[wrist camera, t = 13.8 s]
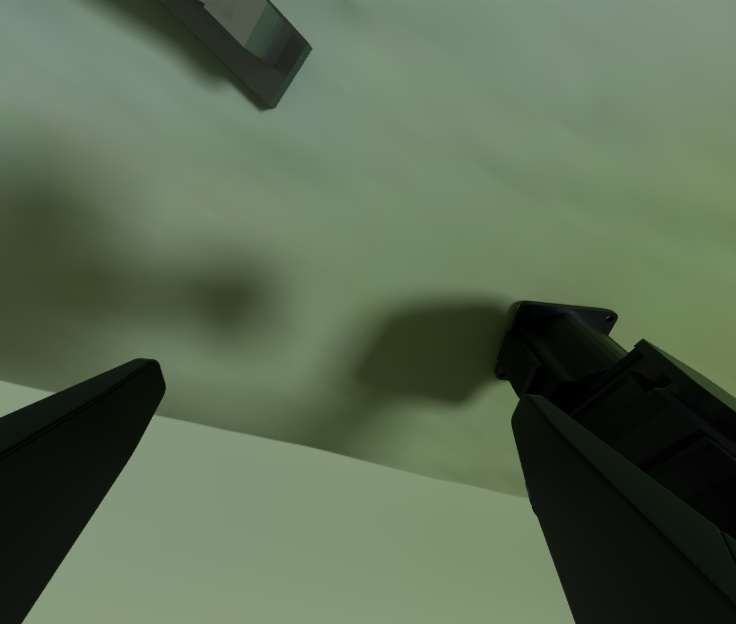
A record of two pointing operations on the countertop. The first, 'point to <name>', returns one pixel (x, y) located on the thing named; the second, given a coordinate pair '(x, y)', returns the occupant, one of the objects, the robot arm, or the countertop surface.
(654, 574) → the robot arm
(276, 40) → the gray metal frame
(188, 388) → the countertop surface
